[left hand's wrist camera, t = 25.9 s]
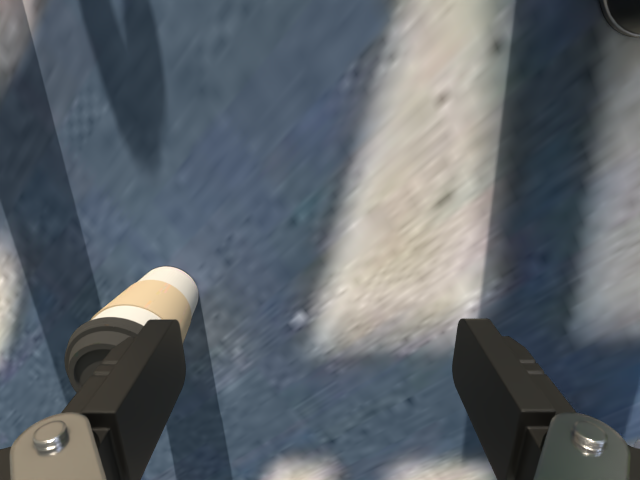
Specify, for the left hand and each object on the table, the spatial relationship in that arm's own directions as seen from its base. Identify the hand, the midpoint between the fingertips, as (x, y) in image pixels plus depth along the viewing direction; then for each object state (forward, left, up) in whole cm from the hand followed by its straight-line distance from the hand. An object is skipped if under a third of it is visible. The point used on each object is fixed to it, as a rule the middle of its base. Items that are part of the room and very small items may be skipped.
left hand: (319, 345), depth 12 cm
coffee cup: (+11, +21, -32) cm, 40 cm away
